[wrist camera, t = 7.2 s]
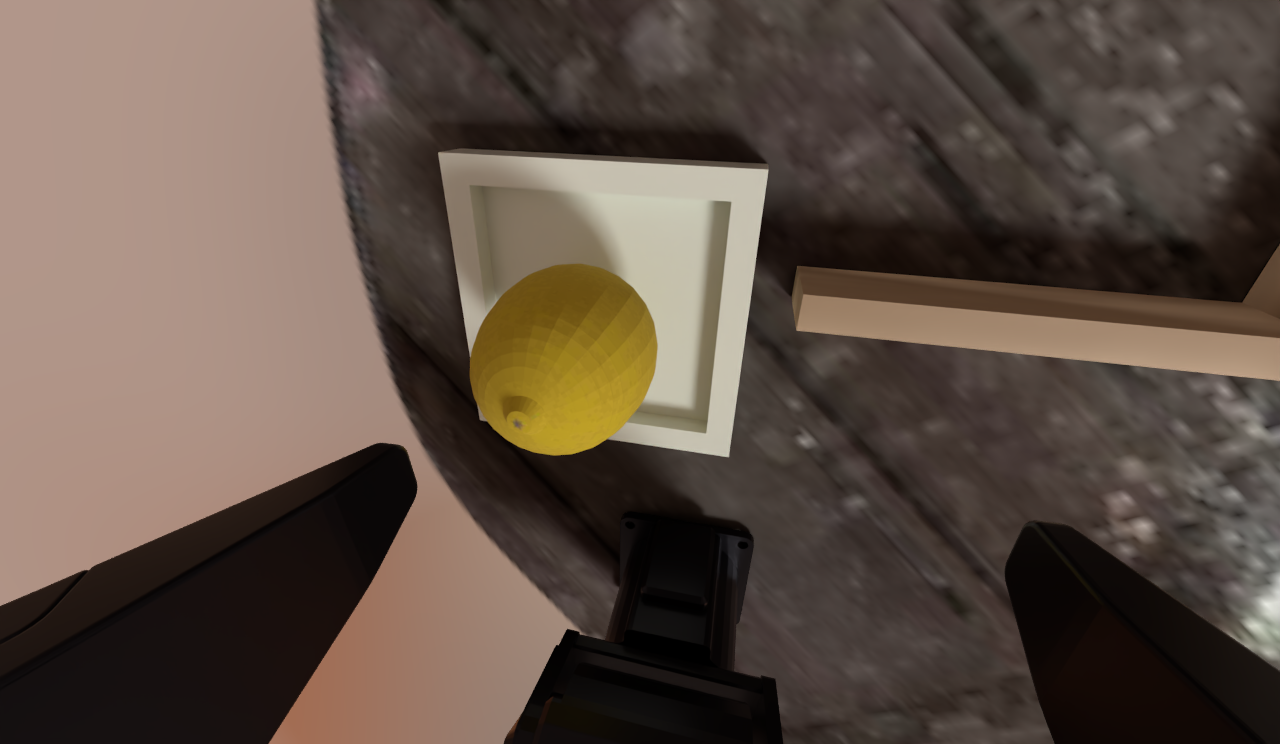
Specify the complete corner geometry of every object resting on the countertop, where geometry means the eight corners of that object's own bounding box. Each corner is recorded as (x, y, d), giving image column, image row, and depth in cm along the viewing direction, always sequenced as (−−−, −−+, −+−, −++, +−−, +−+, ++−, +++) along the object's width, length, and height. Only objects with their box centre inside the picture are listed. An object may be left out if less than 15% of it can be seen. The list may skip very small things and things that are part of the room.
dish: (730, 435, 22) (728, 457, 21) (495, 402, 24) (479, 420, 22) (767, 163, 17) (768, 169, 15) (460, 148, 18) (438, 152, 17)
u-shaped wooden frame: (1264, 341, 16) (1359, 388, 13) (791, 297, 18) (796, 330, 16) (1872, -539, 8) (2372, -823, 6) (919, -413, 11) (969, -573, 8)
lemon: (513, 263, 20) (378, 354, 13) (644, 217, 18) (568, 295, 11) (570, 384, 22) (481, 518, 15) (693, 354, 20) (655, 492, 13)
